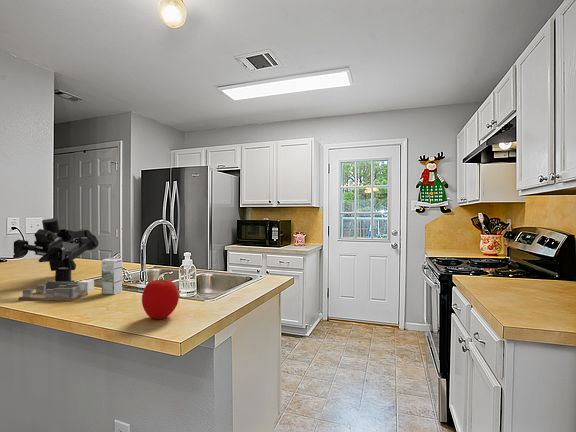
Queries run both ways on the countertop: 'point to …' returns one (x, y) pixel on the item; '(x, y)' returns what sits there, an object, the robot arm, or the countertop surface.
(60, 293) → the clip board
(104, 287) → the syrup box
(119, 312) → the countertop surface
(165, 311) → the red apple
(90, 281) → the gray rod with block
